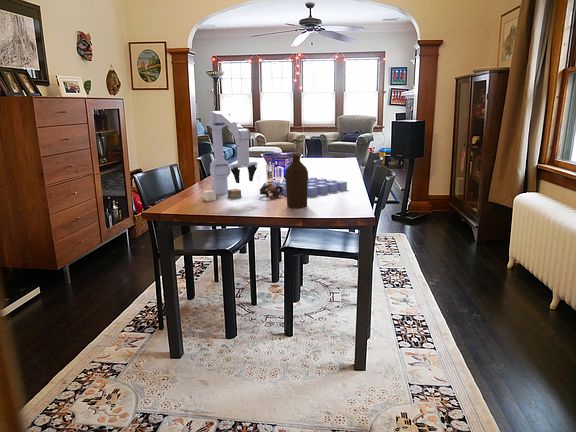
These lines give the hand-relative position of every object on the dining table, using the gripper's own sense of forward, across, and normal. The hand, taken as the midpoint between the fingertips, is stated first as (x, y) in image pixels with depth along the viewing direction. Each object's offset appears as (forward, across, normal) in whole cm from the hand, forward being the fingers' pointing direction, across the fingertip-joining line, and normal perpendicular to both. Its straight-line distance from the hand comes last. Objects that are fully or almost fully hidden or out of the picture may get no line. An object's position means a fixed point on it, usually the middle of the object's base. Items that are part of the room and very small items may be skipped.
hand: (244, 182), depth 221 cm
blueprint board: (+10, 0, +11) cm, 15 cm away
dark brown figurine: (+10, +15, -2) cm, 18 cm away
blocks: (+11, +40, +4) cm, 42 cm away
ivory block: (+10, -12, +15) cm, 21 cm away
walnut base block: (+10, 0, +11) cm, 14 cm away
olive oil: (+10, +13, -26) cm, 30 cm away
